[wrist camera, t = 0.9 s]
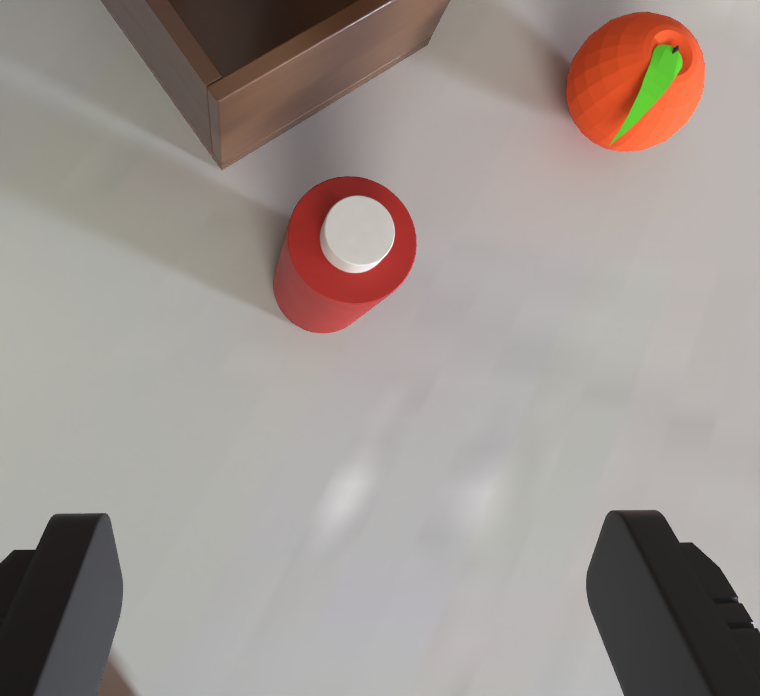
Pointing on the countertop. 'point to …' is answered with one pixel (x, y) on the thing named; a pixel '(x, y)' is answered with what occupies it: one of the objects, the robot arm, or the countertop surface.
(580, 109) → the clementine
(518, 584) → the countertop surface
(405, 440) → the countertop surface
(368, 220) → the sauce bottle
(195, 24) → the chest
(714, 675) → the robot arm
